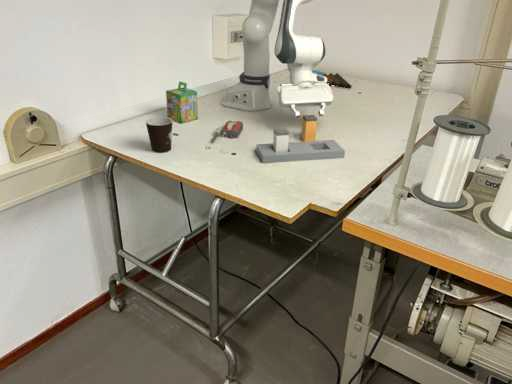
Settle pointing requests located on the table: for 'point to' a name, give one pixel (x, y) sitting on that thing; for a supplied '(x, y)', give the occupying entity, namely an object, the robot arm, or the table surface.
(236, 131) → the walkie-talkie
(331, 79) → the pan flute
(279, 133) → the white plug
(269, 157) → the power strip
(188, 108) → the chalk box
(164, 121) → the coffee mug
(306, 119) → the orange plug
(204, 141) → the table surface
